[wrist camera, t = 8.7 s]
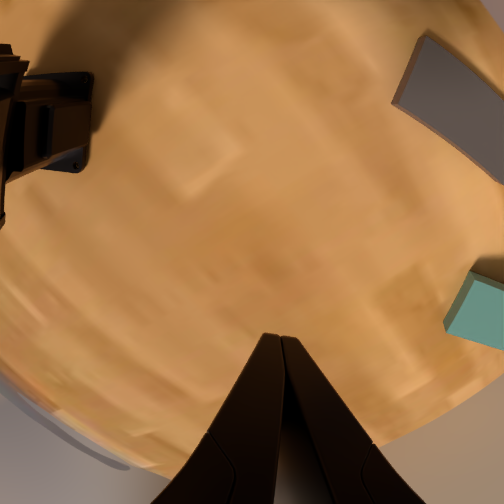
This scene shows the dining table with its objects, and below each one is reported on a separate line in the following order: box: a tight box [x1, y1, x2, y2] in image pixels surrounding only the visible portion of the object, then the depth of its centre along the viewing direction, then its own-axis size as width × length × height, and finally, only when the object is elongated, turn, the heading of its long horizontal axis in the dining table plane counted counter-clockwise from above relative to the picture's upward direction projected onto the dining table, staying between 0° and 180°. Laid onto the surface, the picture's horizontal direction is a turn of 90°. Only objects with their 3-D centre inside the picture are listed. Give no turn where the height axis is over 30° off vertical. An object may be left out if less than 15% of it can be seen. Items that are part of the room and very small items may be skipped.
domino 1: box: [391, 36, 504, 185], centre depth 14 cm, size 10×5×2 cm, turn 68°
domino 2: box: [443, 271, 504, 350], centre depth 19 cm, size 2×5×10 cm
